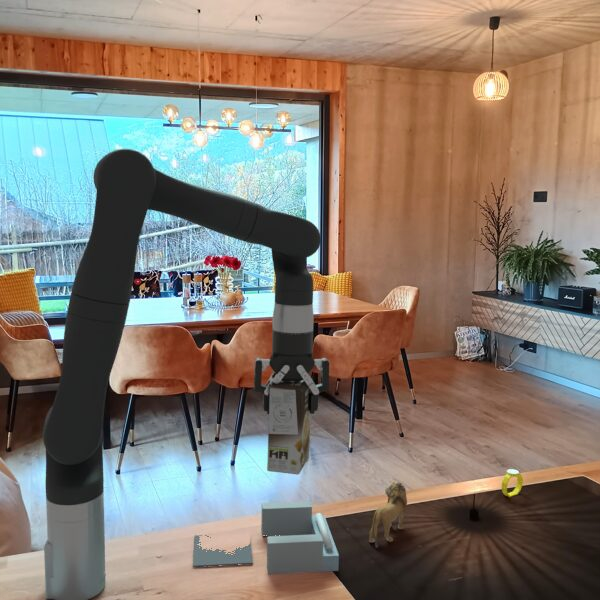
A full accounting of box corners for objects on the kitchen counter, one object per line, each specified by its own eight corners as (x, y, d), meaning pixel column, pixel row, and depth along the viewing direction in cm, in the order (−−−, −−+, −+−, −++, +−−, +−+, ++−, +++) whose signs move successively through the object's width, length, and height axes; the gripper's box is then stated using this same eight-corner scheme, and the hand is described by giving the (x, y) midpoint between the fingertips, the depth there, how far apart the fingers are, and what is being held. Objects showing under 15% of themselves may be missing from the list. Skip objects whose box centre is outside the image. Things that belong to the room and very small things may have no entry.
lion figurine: (385, 515, 141) (387, 476, 139) (409, 520, 139) (411, 481, 137) (364, 547, 127) (366, 504, 126) (390, 553, 125) (392, 509, 124)
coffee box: (300, 475, 118) (303, 390, 116) (266, 471, 119) (268, 387, 117) (309, 457, 127) (312, 377, 125) (278, 453, 128) (280, 374, 126)
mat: (192, 567, 119) (192, 565, 119) (194, 537, 129) (194, 535, 129) (252, 564, 120) (252, 562, 120) (249, 535, 131) (249, 533, 131)
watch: (508, 501, 150) (508, 477, 149) (498, 496, 152) (499, 472, 151) (525, 493, 153) (525, 470, 152) (515, 489, 155) (516, 466, 154)
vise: (267, 574, 117) (268, 543, 116) (261, 530, 133) (261, 503, 132) (338, 570, 119) (339, 540, 118) (323, 528, 134) (324, 500, 134)
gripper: (255, 331, 115) (253, 420, 117) (334, 331, 117) (331, 418, 119) (252, 323, 122) (251, 407, 124) (327, 324, 124) (324, 406, 126)
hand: (290, 412), depth 122 cm, fingers closed on coffee box, 7 cm apart
